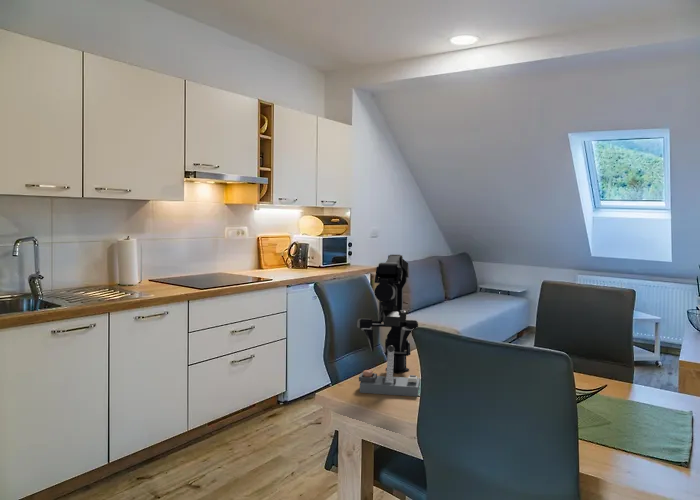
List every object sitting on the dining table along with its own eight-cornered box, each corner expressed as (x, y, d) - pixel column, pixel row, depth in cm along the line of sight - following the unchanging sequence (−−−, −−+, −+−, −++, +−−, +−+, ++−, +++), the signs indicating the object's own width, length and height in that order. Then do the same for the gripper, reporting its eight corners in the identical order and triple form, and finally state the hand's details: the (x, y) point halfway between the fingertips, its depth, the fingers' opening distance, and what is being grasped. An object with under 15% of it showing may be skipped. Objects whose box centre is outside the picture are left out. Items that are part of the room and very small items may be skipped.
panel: (362, 383, 178) (362, 369, 177) (419, 387, 173) (419, 373, 173) (357, 392, 169) (357, 378, 168) (417, 396, 165) (417, 381, 164)
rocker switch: (409, 379, 172) (409, 374, 172) (417, 379, 171) (417, 375, 171) (407, 381, 167) (407, 377, 168) (416, 382, 167) (416, 377, 167)
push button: (364, 374, 174) (364, 369, 174) (373, 374, 174) (373, 370, 173) (362, 377, 171) (362, 372, 171) (371, 377, 170) (371, 373, 170)
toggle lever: (386, 380, 170) (388, 345, 174) (393, 381, 170) (395, 346, 174) (385, 379, 168) (387, 344, 172) (392, 380, 168) (394, 344, 172)
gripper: (363, 301, 154) (361, 353, 153) (423, 303, 157) (422, 354, 155) (357, 301, 165) (356, 350, 164) (413, 303, 168) (413, 351, 166)
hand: (386, 351), depth 162 cm, fingers open, 9 cm apart
